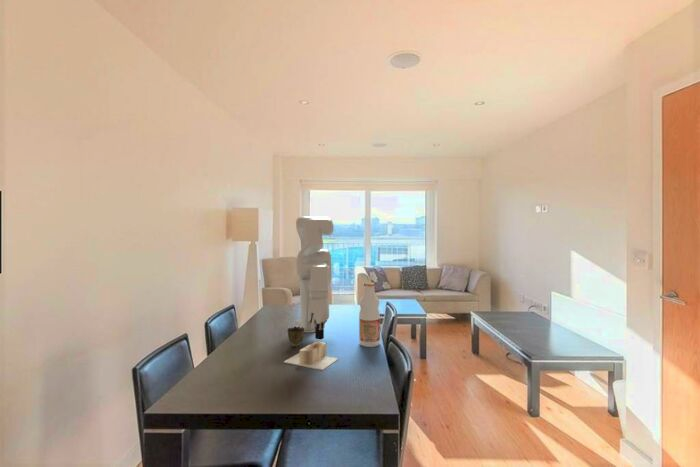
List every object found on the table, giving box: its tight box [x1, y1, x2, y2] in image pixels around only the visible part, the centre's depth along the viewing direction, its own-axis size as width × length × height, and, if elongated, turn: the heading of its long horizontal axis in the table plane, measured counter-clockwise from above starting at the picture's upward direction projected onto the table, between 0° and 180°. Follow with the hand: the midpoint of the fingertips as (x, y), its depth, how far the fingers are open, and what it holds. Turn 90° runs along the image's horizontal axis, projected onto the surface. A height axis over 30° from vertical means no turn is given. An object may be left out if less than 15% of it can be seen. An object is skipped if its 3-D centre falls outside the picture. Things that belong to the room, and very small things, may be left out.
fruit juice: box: [358, 282, 381, 348], centre depth 157 cm, size 9×9×28 cm
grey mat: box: [283, 352, 339, 371], centre depth 137 cm, size 18×12×1 cm, turn 64°
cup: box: [287, 326, 305, 348], centre depth 154 cm, size 8×7×8 cm
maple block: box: [299, 340, 327, 365], centre depth 138 cm, size 5×5×12 cm
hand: (319, 338), depth 142 cm, fingers closed
